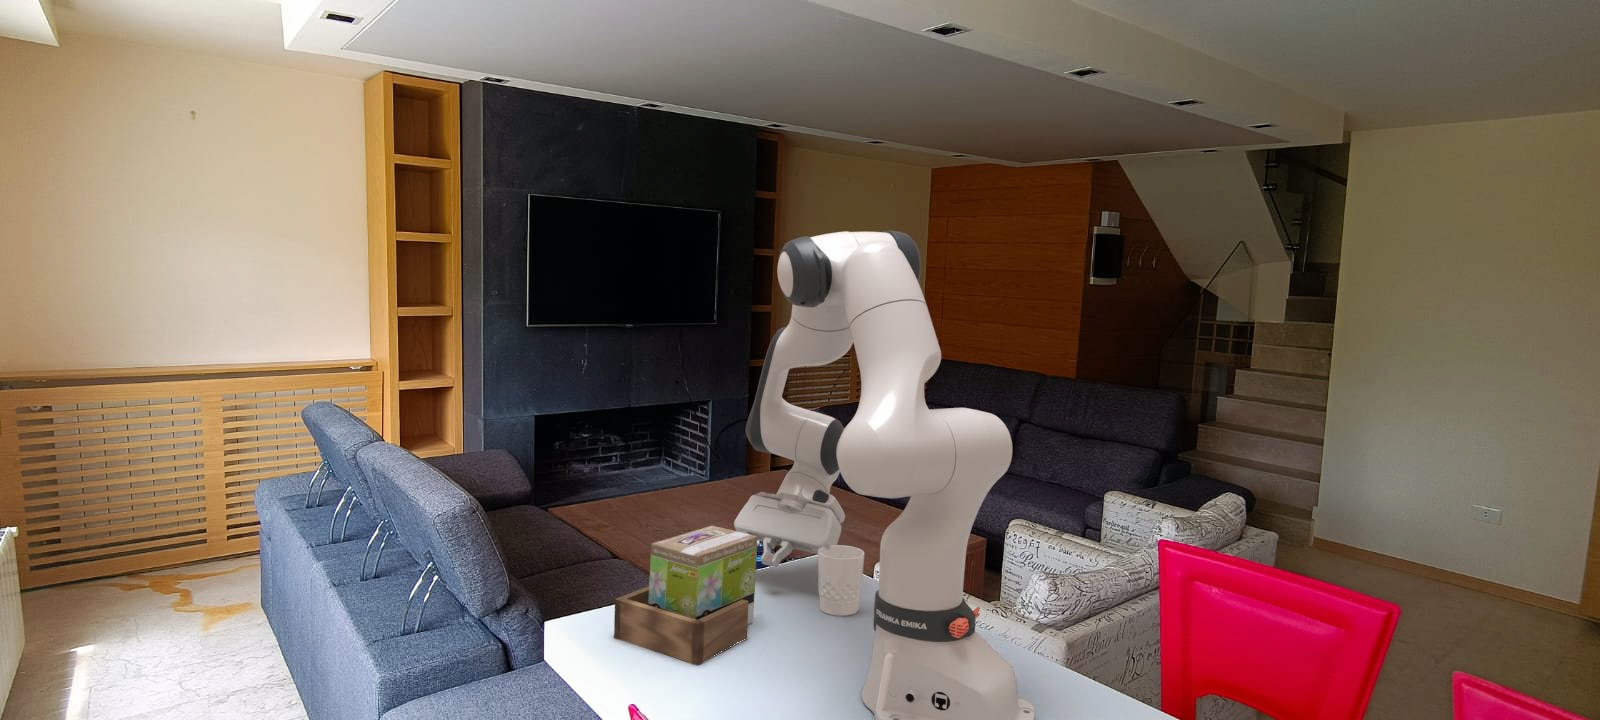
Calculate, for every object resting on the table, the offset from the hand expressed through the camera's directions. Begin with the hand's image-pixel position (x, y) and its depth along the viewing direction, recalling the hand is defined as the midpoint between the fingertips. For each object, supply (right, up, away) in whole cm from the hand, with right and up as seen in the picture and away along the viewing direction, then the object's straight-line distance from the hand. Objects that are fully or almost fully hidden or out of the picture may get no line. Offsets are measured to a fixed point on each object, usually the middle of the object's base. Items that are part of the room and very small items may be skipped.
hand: (768, 564), depth 153 cm
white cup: (+12, -7, -5) cm, 15 cm away
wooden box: (-13, -7, -20) cm, 24 cm away
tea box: (-10, -7, -16) cm, 20 cm away
